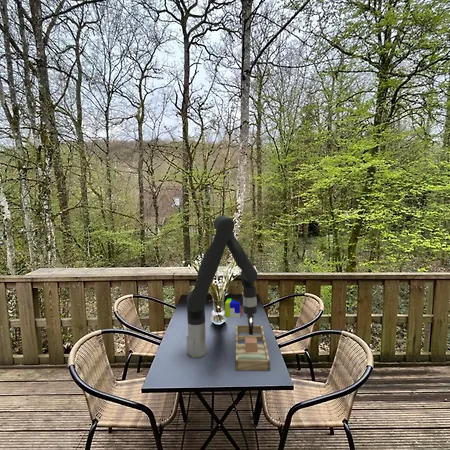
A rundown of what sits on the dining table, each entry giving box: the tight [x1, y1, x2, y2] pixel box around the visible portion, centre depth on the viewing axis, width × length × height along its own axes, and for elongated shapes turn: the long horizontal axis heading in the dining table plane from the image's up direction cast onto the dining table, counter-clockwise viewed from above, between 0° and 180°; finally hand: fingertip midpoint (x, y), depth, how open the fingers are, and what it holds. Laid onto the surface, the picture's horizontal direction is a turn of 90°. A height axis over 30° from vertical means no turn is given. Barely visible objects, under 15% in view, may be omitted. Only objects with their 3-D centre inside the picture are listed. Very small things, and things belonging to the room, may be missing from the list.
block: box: [244, 337, 258, 352], centre depth 155 cm, size 6×6×5 cm
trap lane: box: [235, 324, 271, 371], centre depth 159 cm, size 40×16×4 cm, turn 178°
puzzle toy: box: [224, 298, 243, 319], centre depth 207 cm, size 10×10×10 cm
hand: (251, 334), depth 163 cm, fingers closed
